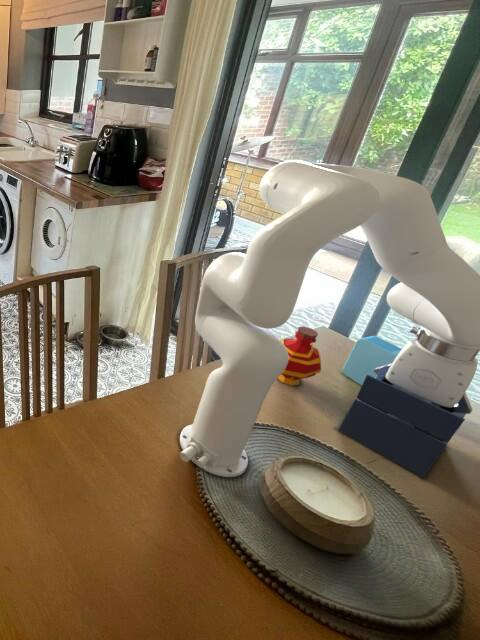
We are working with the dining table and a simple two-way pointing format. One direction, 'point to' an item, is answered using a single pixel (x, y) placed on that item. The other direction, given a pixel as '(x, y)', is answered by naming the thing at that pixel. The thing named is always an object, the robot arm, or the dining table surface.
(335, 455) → the dining table surface
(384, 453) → the carton
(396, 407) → the flap
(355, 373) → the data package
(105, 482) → the dining table surface
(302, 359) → the potion bottle
